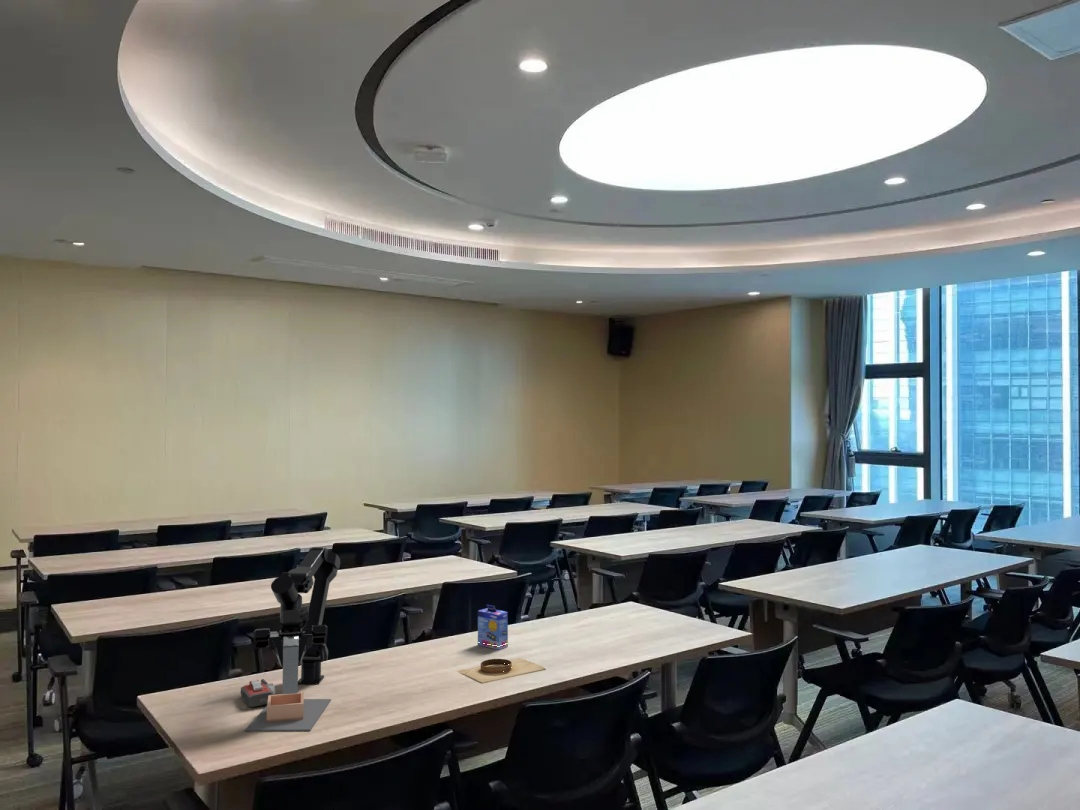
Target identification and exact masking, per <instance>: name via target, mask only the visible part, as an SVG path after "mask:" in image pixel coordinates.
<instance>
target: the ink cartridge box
mask: <svg viewBox="0 0 1080 810" xmlns="http://www.w3.org/2000/svg"><path fill="white" fill-rule="evenodd" d="M508 617H509V615H508V611H505V610H500V609H496V606H495V605H490V604H486V608H482V609H479V610H477V646H480V647H486V648H488V649H489V648H490V649H493V650H498V651H499V650H501V649H504V648H508V647H509V636H508V635H509V630H508V627H509V625H508V623H509V622H508V621H509V620H508ZM478 642H480V643H478ZM483 643H485V644H483ZM505 643H508V644H506V645H503V644H505ZM487 644H491V645H487ZM492 645H497V646H500V645H503V646H500V647H497V646H492Z"/></svg>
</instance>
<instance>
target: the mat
mask: <svg viewBox="0 0 1080 810" xmlns="http://www.w3.org/2000/svg"><path fill="white" fill-rule="evenodd" d="M331 701H332V698H304V707H303V719H301V720H290V721H280V722H269V723H267V705H265V706H264V708H263V709H262V710H261V711H260V712H259V714H258V715H257V716H256V717H255V718H253V720H252V721H251V722H250V724H248V725H247V727H246V728H245V729H244V732H311V731H312V729H313V728H314V726H315V724H316V723H317V722H318V721H319V719H320V718H321V716H322V715H323V713H324V712H325V711H326V709H327V707H328V706H329V704H330V703H331Z"/></svg>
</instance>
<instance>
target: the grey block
mask: <svg viewBox="0 0 1080 810" xmlns="http://www.w3.org/2000/svg"><path fill="white" fill-rule="evenodd" d="M282 646H283V647H282V655H283V667H282V683H281V684H282V687H281V688H282V689H281V691H282V692H281V694H282V695H283V694H294V693H299V690H298V689H299V684H298V680H299V666H298V655H299V636H289V637H284V638H283V645H282Z"/></svg>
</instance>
